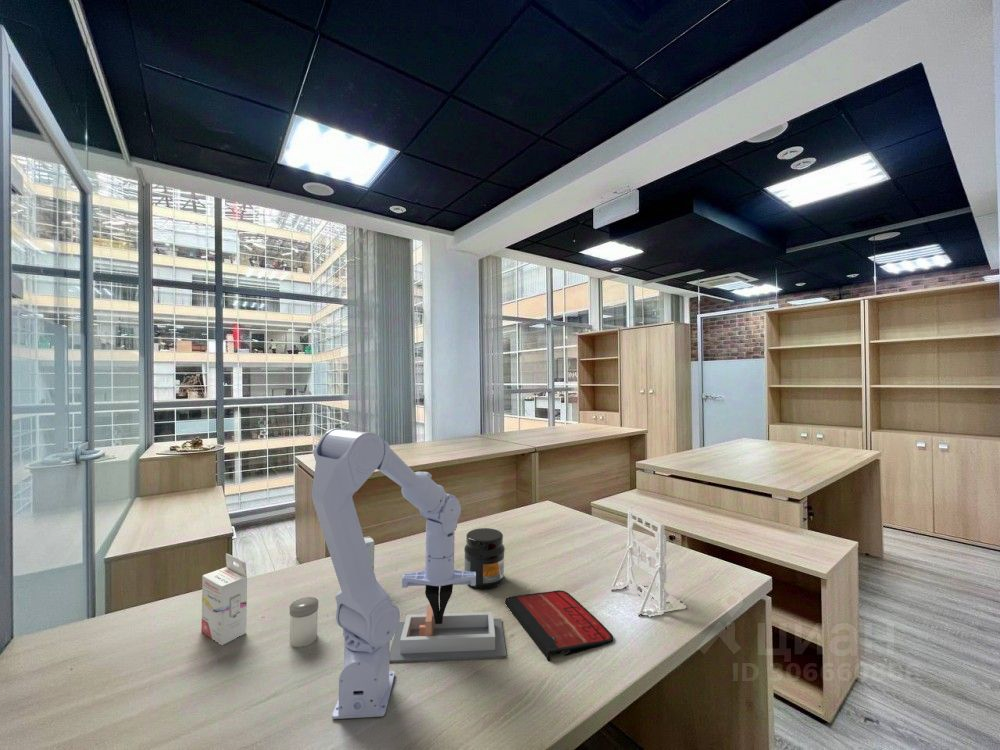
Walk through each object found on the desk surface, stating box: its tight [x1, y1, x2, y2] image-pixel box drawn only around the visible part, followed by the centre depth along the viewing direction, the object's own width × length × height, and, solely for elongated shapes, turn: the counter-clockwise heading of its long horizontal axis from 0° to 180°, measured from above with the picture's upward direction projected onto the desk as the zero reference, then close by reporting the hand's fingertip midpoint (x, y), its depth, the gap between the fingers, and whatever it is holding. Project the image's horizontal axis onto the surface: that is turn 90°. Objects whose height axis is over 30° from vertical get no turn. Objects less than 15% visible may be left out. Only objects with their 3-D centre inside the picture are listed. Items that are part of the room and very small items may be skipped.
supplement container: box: [463, 527, 506, 590], centre depth 107 cm, size 10×10×12 cm
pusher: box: [419, 604, 434, 636], centre depth 82 cm, size 6×3×5 cm, turn 4°
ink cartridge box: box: [200, 552, 248, 646], centre depth 84 cm, size 9×5×15 cm, turn 59°
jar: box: [289, 596, 319, 648], centre depth 82 cm, size 5×5×7 cm
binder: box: [504, 590, 614, 662], centre depth 89 cm, size 16×2×21 cm
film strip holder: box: [611, 507, 667, 616], centre depth 99 cm, size 14×14×20 cm
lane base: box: [389, 611, 507, 664], centre depth 82 cm, size 12×22×3 cm, turn 94°
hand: (438, 621), depth 82 cm, fingers closed
